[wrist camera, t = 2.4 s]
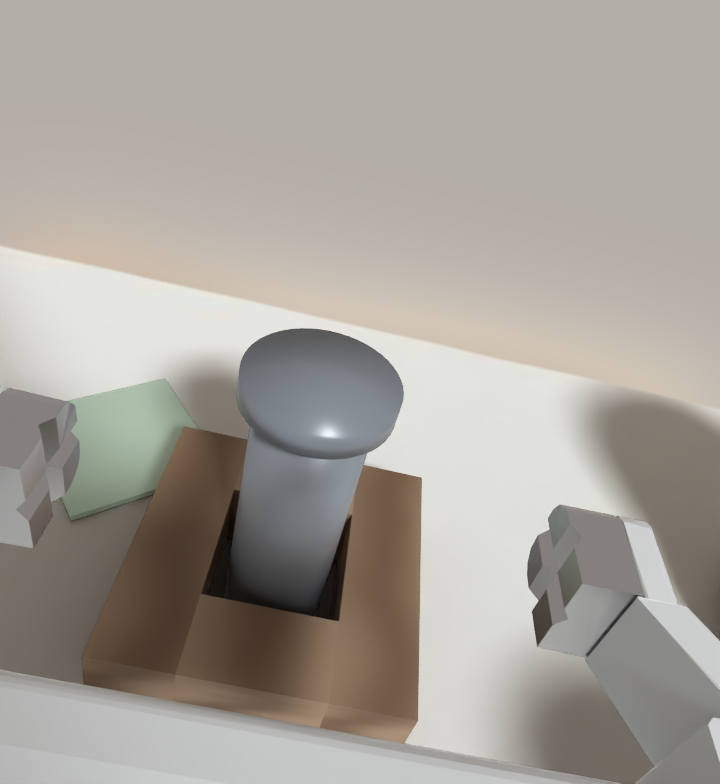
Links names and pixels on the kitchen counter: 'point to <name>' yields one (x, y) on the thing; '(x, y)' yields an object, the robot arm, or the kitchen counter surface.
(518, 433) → the kitchen counter surface
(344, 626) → the socket block
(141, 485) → the mat
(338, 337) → the grey capped peg
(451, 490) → the kitchen counter surface
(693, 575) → the kitchen counter surface
